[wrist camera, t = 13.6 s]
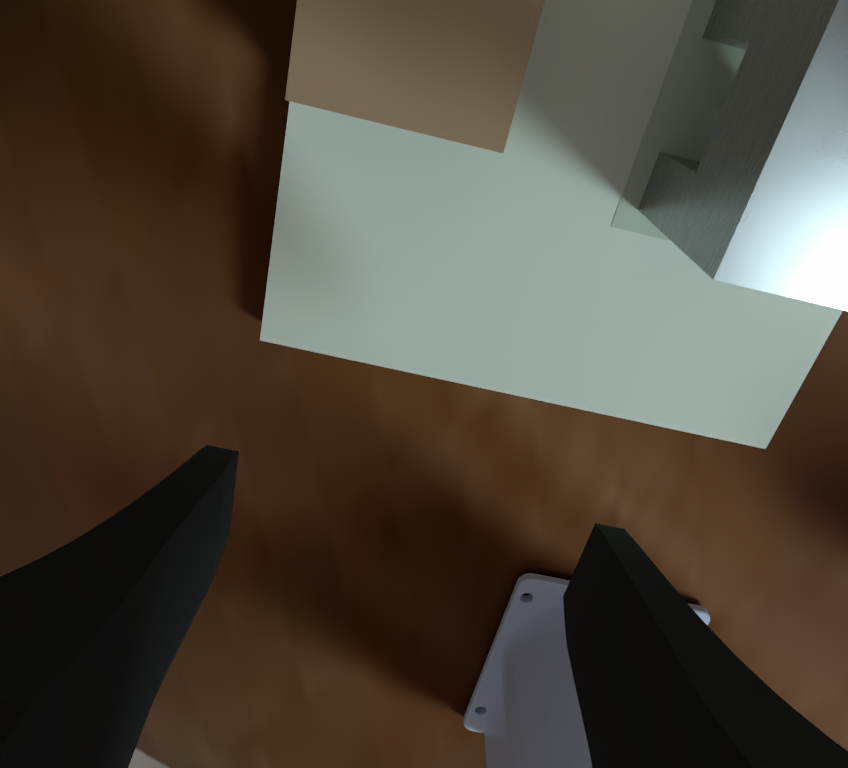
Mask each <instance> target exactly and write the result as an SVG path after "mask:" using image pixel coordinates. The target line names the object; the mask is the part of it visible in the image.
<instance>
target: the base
mask: <svg viewBox="0 0 848 768" xmlns="http://www.w3.org/2000/svg"><path fill="white" fill-rule="evenodd" d="M715 2H716V0H545V2H544V6H543V9H542V13H541V17H540V20H539V24H538V28H537V31H536V35H535V39H534V42H533V46H532V50H531V53H530V57H529V61H528V64H527V68H526V72H525V76H524V79H523V83H522V87H521V90H520V94H519V98H518V101H517V105H516V109H515V112H514V116H513V120H512V123H511V127H510V131H509V135H508V138H507V142H506V146H505V149H504V153H499V152H495V151H491V150H487V149H483V148H479V147H475V146H471V145H466V144H462V143H458V142H454V141H450V140H446V139H442V138H438V137H434V136H430V135H426V134H422V133H417V132H413V131H409V130H405V129H401V128H397V127H393V126H389V125H385V124H381V123H377V122H373V121H368V120H364V119H360V118H356V117H352V116H348V115H344V114H340V113H336V112H332V111H328V110H323V109H319V108H315V107H311V106H307V105H303V104H299V103H295V102H291V101H289V109H288V117H287V125H286V133H285V141H284V150H283V158H282V166H281V174H280V182H279V190H278V198H277V206H276V214H275V222H274V230H273V238H272V246H271V254H270V262H269V271H268V279H267V287H266V295H265V303H264V311H263V319H262V327H261V335H260V340H261V341H265V342H270V343H275V344H279V345H284V346H289V347H293V348H298V349H303V350H307V351H312V352H316V353H321V354H326V355H330V356H335V357H340V358H344V359H349V360H354V361H358V362H363V363H368V364H372V365H377V366H382V367H386V368H391V369H395V370H400V371H405V372H409V373H414V374H419V375H423V376H428V377H433V378H437V379H442V380H447V381H451V382H456V383H461V384H465V385H470V386H475V387H479V388H484V389H488V390H493V391H498V392H502V393H507V394H512V395H516V396H521V397H526V398H530V399H535V400H540V401H544V402H549V403H554V404H558V405H563V406H568V407H572V408H577V409H581V410H586V411H591V412H595V413H600V414H605V415H609V416H614V417H619V418H623V419H628V420H633V421H637V422H642V423H647V424H651V425H656V426H660V427H665V428H670V429H674V430H679V431H684V432H688V433H693V434H698V435H702V436H707V437H712V438H716V439H721V440H726V441H730V442H735V443H740V444H744V445H749V446H753V447H758V448H763V449H766V448H767V446H768V444H769V442H770V440H771V439H772V437H773V435H774V433H775V431H776V430H777V428H778V426H779V424H780V422H781V421H782V419H783V417H784V415H785V413H786V412H787V410H788V408H789V406H790V404H791V403H792V401H793V399H794V397H795V395H796V394H797V392H798V390H799V388H800V386H801V385H802V383H803V381H804V379H805V378H806V376H807V374H808V372H809V370H810V369H811V367H812V365H813V363H814V361H815V360H816V358H817V356H818V354H819V352H820V351H821V349H822V347H823V345H824V343H825V342H826V340H827V338H828V336H829V334H830V333H831V331H832V329H833V327H834V325H835V324H836V322H837V320H838V318H839V316H840V315H841V313H842V311H843V310H840V309H836V308H831V307H827V306H823V305H819V304H814V303H810V302H806V301H801V300H797V299H793V298H789V297H784V296H780V295H776V294H772V293H767V292H763V291H759V290H755V289H750V288H746V287H742V286H738V285H733V284H729V283H725V282H721V281H716V280H713V279H712V278H711V277H710V276H709V275H708V274H706V273H705V272H704V271H703V270H702V269H701V268H700V267H699V266H698V265H697V264H696V263H695V262H693V261H692V260H691V259H690V258H689V257H688V256H687V255H686V254H685V253H684V252H683V251H682V250H680V249H679V248H678V247H677V246H676V245H675V244H674V243H673V242H672V241H671V240H670V239H669V238H668V237H666V236H665V235H664V234H663V233H662V232H661V231H660V230H659V229H658V228H657V227H656V226H655V225H653V224H652V223H651V222H650V221H649V220H648V219H647V218H646V217H645V216H644V215H643V214H642V213H640V212H639V211H638V208H639V205H640V202H641V200H642V197H643V194H644V192H645V189H646V186H647V184H648V181H649V178H650V176H651V173H652V170H653V168H654V165H655V162H656V160H657V157H658V154H659V152H662V153H666V154H670V155H674V156H678V157H682V158H686V159H690V160H694V161H698V162H701V160H702V157H703V155H704V152H705V150H706V147H707V145H708V142H709V140H710V137H711V135H712V132H713V130H714V128H715V125H716V123H717V120H718V118H719V115H720V113H721V110H722V108H723V105H724V103H725V100H726V98H727V95H728V93H729V91H730V88H731V86H732V83H733V81H734V78H735V76H736V73H737V71H738V68H739V66H740V63H741V61H742V58H743V56H744V53H745V51H746V50H744V49H740V48H737V47H733V46H729V45H725V44H721V43H718V42H714V41H710V40H706V39H703V38H702V37H703V34H704V32H705V29H706V26H707V24H708V21H709V18H710V16H711V13H712V10H713V8H714V5H715Z"/></svg>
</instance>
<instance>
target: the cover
mask: <svg viewBox="0 0 848 768" xmlns="http://www.w3.org/2000/svg"><path fill="white" fill-rule="evenodd" d="M544 2H545V0H297V5H296V13H295V21H294V30H293V38H292V46H291V54H290V63H289V71H288V79H287V87H286V96H285V100H287V101H291V102H295V103H299V104H303V105H307V106H311V107H315V108H319V109H323V110H328V111H332V112H336V113H340V114H344V115H348V116H352V117H356V118H360V119H364V120H368V121H373V122H377V123H381V124H385V125H389V126H393V127H397V128H401V129H405V130H409V131H413V132H417V133H422V134H426V135H430V136H434V137H438V138H442V139H446V140H450V141H454V142H458V143H462V144H466V145H471V146H475V147H479V148H483V149H487V150H491V151H495V152H499V153H504V149H505V146H506V142H507V138H508V135H509V131H510V127H511V123H512V120H513V116H514V112H515V109H516V105H517V101H518V98H519V94H520V90H521V87H522V83H523V79H524V76H525V72H526V68H527V64H528V61H529V57H530V53H531V50H532V46H533V42H534V39H535V35H536V31H537V28H538V24H539V20H540V17H541V13H542V9H543V6H544Z"/></svg>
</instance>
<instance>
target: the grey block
mask: <svg viewBox="0 0 848 768" xmlns="http://www.w3.org/2000/svg"><path fill="white" fill-rule="evenodd" d="M702 38H703V39H706V40H710V41H714V42H718V43H721V44H725V45H729V46H733V47H737V48H740V49H744V50H746V51H745V53H744V56H743V58H742V61H741V63H740V66H739V68H738V71H737V73H736V76H735V78H734V81H733V83H732V86H731V88H730V91H729V93H728V95H727V98H726V100H725V103H724V105H723V108H722V110H721V113H720V115H719V118H718V120H717V123H716V125H715V128H714V130H713V132H712V135H711V137H710V140H709V142H708V145H707V147H706V150H705V152H704V155H703V157H702V160H701V162H698V161H694V160H690V159H686V158H682V157H678V156H674V155H670V154H666V153H662V152H659V154H658V157H657V160H656V162H655V165H654V168H653V170H652V173H651V176H650V178H649V181H648V184H647V186H646V189H645V192H644V194H643V197H642V200H641V202H640V205H639V208H638V211H639V212H640V213H642V214H643V215H644V216H645V217H646V218H647V219H648V220H649V221H650V222H651V223H652V224H653V225H655V226H656V227H657V228H658V229H659V230H660V231H661V232H662V233H663V234H664V235H665V236H666V237H668V238H669V239H670V240H671V241H672V242H673V243H674V244H675V245H676V246H677V247H678V248H679V249H680V250H682V251H683V252H684V253H685V254H686V255H687V256H688V257H689V258H690V259H691V260H692V261H693V262H695V263H696V264H697V265H698V266H699V267H700V268H701V269H702V270H703V271H704V272H705V273H706V274H708V275H709V276H710V277H711V278H712V279H713V280H716V281H721V282H725V283H729V284H733V285H738V286H742V287H746V288H750V289H755V290H759V291H763V292H767V293H772V294H776V295H780V296H784V297H789V298H793V299H797V300H801V301H806V302H810V303H814V304H819V305H823V306H827V307H831V308H836V309H840V310H844V311H848V0H716V2H715V5H714V8H713V10H712V13H711V16H710V18H709V21H708V24H707V26H706V29H705V32H704V34H703V37H702Z"/></svg>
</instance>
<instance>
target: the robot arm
mask: <svg viewBox="0 0 848 768" xmlns="http://www.w3.org/2000/svg"><path fill="white" fill-rule="evenodd" d="M238 454H239V452H238V451H233V450H228V449H223V448H218V447H213V446H208V445H207V446H206V447H204V448H202V449H201V450H199V451H198V452H197V453H196V454H195V455H193V456H192V457H191V458H190V459H188V460H187V461H186V462H185V463H184V464H182V465H181V466H180V467H179V468H177V469H176V470H175V471H174V472H172V473H171V474H170V475H169V476H167V477H166V478H165V479H164V480H162V481H161V482H160V483H158V484H157V485H156V486H154V487H153V488H152V489H150V490H149V491H147V492H146V493H145V494H143V495H142V496H141V497H139V498H138V499H137V500H135V501H134V502H132V503H131V504H130V505H128V506H127V507H125V508H124V509H122V510H121V511H119V512H118V513H116V514H115V515H113V516H112V517H110V518H108V519H107V520H105V521H104V522H102V523H101V524H99V525H98V526H96V527H95V528H93V529H92V530H90V531H88V532H87V533H85V534H83V535H82V536H80V537H78V538H77V539H75V540H73V541H71V542H70V543H68V544H66V545H64V546H62V547H61V548H59V549H57V550H55V551H53V552H51V553H50V554H48V555H46V556H44V557H42V558H40V559H38V560H36V561H34V562H32V563H30V564H27V565H25V566H23V567H21V568H19V569H16V570H14V571H12V572H10V573H8V574H5V575H3V576H1V577H0V768H128V766H129V763H130V760H131V758H132V755H133V752H134V750H135V747H136V745H137V742H138V740H139V737H140V734H141V732H142V729H143V727H144V724H145V721H146V719H147V716H148V713H149V711H150V708H151V706H152V703H153V701H154V699H155V696H156V694H157V692H158V690H159V687H160V685H161V683H162V681H163V678H164V676H165V674H166V672H167V670H168V668H169V666H170V664H171V662H172V660H173V658H174V656H175V654H176V652H177V650H178V648H179V646H180V644H181V642H182V640H183V638H184V636H185V634H186V632H187V630H188V628H189V626H190V624H191V622H192V620H193V618H194V616H195V614H196V612H197V610H198V608H199V606H200V604H201V602H202V600H203V598H204V596H205V594H206V592H207V590H208V588H209V586H210V584H211V582H212V580H213V577H214V575H215V572H216V569H217V566H218V564H219V561H220V558H221V555H222V552H223V549H224V547H225V544H226V541H227V538H228V535H229V531H230V522H231V514H232V505H233V497H234V488H235V480H236V471H237V463H238ZM524 593H529V595H522V594H524ZM709 622H710V616H709V613H708V611H707V609H706V608H705V607H702V606H699V605H694V604H689V603H687V602H686V601H685V600H684V599H683V598H682V597H681V595H680V594H679V593H678V592H677V591H676V590H675V588H674V587H673V586H672V585H671V584H670V582H669V581H668V580H667V579H666V578H665V576H664V575H663V574H662V573H661V572H660V570H659V569H658V568H657V567H656V566H655V564H654V563H653V562H652V561H651V560H650V558H649V557H648V556H647V555H646V554H645V552H644V551H643V550H642V549H641V548H640V546H639V545H638V544H637V543H636V542H635V541H634V539H633V538H632V537H631V536H630V535H629V534H628V533H627V532H626V531H625V530H624V529H620V528H616V527H611V526H606V525H601V524H596V523H595V525H594V528H593V530H592V532H591V534H590V537H589V539H588V541H587V543H586V546H585V548H584V550H583V553H582V555H581V557H580V559H579V562H578V564H577V566H576V568H575V571H574V573H573V575H572V577H571V580H565V579H560V578H554V577H549V576H544V575H539V574H534V573H527V574H523V575H522V576H520V577H519V578H518V580H517V582H516V585H515V587H514V590H513V592H512V595H511V597H510V600H509V603H508V605H507V608H506V610H505V613H504V615H503V618H502V620H501V623H500V625H499V628H498V631H497V633H496V636H495V638H494V641H493V643H492V646H491V648H490V651H489V653H488V656H487V659H486V661H485V664H484V666H483V669H482V671H481V674H480V676H479V679H478V681H477V684H476V687H475V689H474V692H473V694H472V697H471V699H470V702H469V704H468V707H467V709H466V712H465V715H464V726H465V728H467V729H468V730H471V731H475V732H481V733H485V747H486V764H487V768H848V751H846V750H845V749H844V748H842V747H841V746H840V745H838V744H837V743H836V742H834V741H833V740H832V739H830V738H829V737H828V736H827V735H825V734H824V733H823V732H822V731H820V730H819V729H818V728H817V727H816V726H814V725H813V724H812V723H811V722H809V721H808V720H807V719H806V718H804V717H803V716H802V715H801V714H800V713H798V712H797V711H796V710H795V709H793V708H792V707H791V706H790V705H789V704H788V703H786V702H785V701H784V700H783V699H782V698H781V697H780V696H778V695H777V694H776V693H775V692H774V691H773V690H772V689H771V688H770V687H769V686H767V685H766V684H765V683H764V682H763V681H762V680H761V679H760V678H759V677H758V676H757V675H756V674H754V673H753V672H752V671H751V670H750V669H749V668H748V667H747V666H746V665H745V664H744V663H743V662H742V661H741V660H740V659H739V658H738V657H737V656H736V655H735V654H734V653H733V652H732V651H731V650H730V649H729V648H728V647H727V646H726V645H725V644H724V643H723V642H722V641H721V640H720V639H719V638H718V637H717V635H716V634H715V633H714V632H713V631H712V630H711V629H710V628H709V627H708V626H707V625H708V624H709Z"/></svg>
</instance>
